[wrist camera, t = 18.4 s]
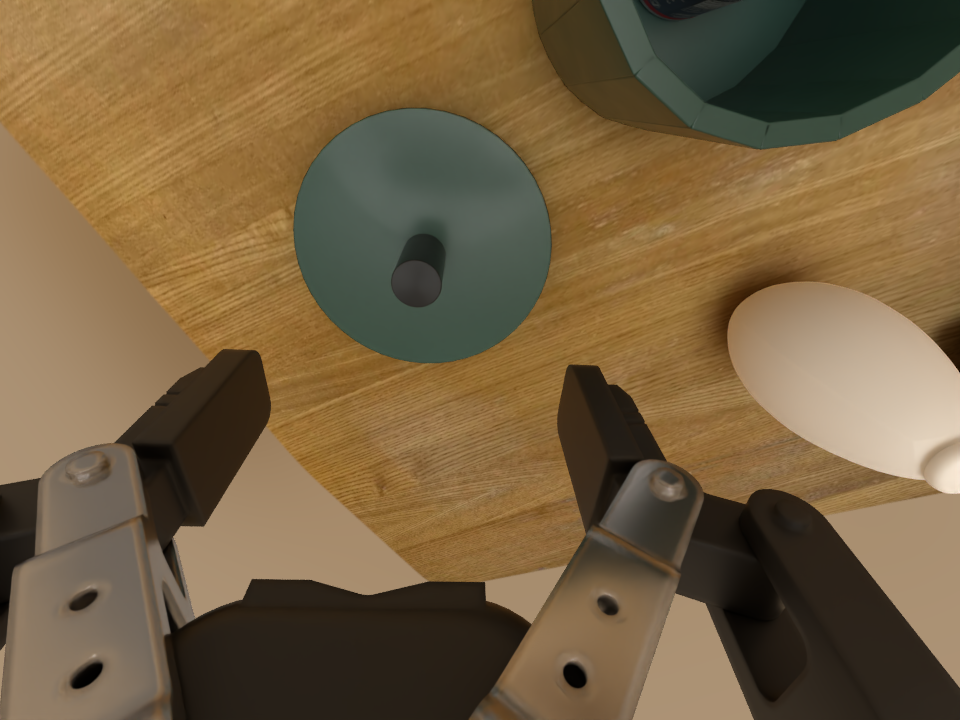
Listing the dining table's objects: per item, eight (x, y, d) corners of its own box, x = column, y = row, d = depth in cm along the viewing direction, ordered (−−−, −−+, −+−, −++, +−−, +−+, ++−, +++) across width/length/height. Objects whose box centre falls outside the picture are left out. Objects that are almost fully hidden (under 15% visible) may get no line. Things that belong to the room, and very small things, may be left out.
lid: (315, 350, 31) (285, 400, 26) (279, 95, 23) (225, 94, 18) (531, 360, 32) (544, 411, 27) (568, 119, 24) (596, 124, 19)
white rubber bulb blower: (688, 287, 29) (933, 496, 14) (811, 237, 28) (1238, 410, 12) (709, 375, 33) (920, 616, 18) (818, 335, 32) (1154, 561, 16)
